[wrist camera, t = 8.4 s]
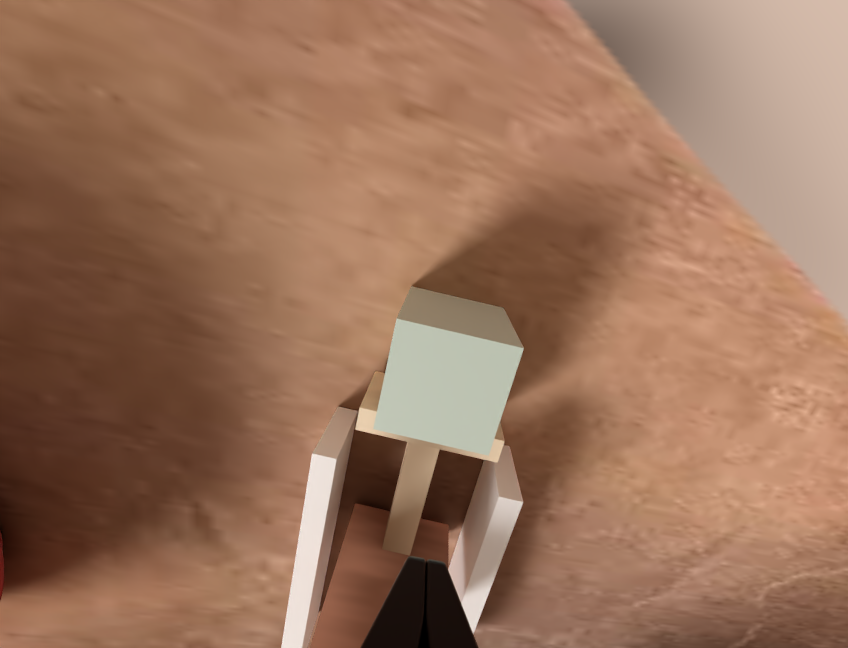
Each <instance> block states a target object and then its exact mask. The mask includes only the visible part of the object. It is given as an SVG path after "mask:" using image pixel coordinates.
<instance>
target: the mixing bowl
mask: <svg viewBox="0 0 848 648" xmlns="http://www.w3.org/2000/svg"><path fill="white" fill-rule="evenodd" d="M2 547H3V542H2V537H1V532H0V600H1V596H2V591H3V584H4V558H3V549H2Z"/></svg>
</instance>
